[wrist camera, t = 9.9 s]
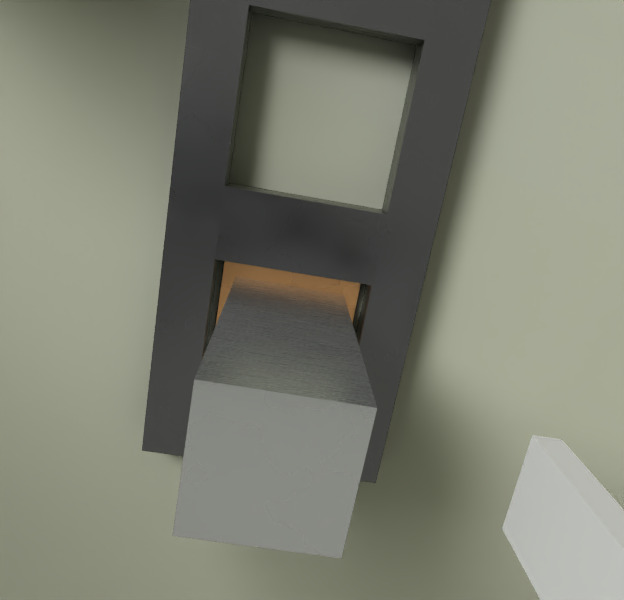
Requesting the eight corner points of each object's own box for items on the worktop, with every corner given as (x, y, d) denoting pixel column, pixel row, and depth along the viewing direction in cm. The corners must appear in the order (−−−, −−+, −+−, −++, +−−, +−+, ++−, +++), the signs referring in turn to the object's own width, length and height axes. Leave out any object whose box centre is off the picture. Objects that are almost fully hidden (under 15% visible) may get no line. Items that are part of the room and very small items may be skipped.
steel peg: (220, 376, 22) (172, 535, 13) (236, 276, 21) (194, 378, 12) (323, 392, 22) (341, 558, 14) (344, 294, 21) (377, 407, 13)
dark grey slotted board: (149, 434, 23) (142, 450, 22) (242, -409, 16) (238, -451, 15) (371, 465, 24) (375, 482, 22) (557, -328, 16) (577, -362, 15)
